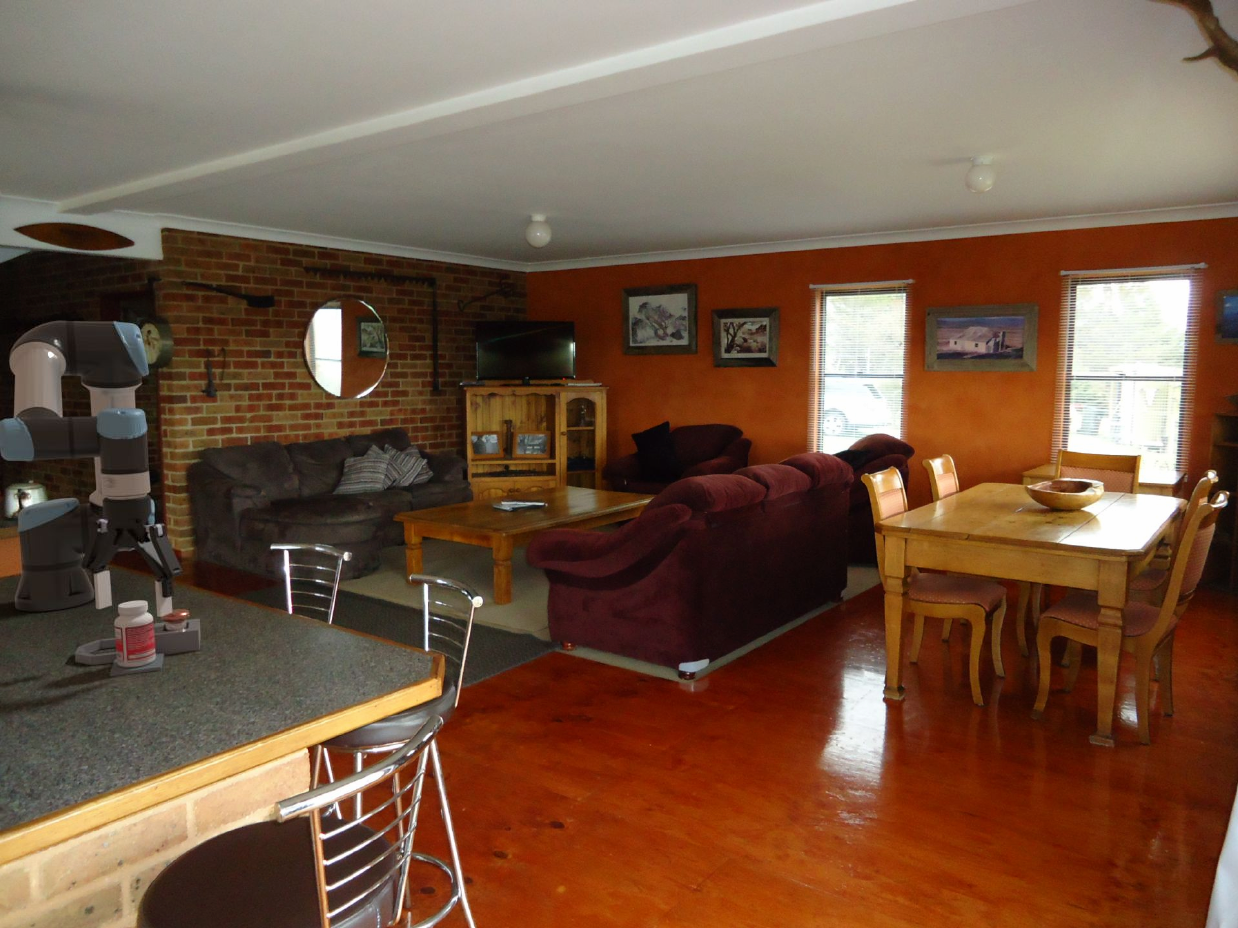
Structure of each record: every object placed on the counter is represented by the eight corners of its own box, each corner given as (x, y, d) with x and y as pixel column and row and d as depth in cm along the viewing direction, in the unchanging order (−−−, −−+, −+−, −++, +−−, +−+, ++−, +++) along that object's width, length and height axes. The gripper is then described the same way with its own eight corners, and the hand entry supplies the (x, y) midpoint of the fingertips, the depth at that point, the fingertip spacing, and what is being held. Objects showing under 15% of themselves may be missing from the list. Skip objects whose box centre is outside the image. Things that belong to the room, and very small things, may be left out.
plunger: (164, 640, 170) (162, 610, 169) (191, 637, 172) (189, 607, 171) (162, 647, 165) (160, 617, 165) (190, 644, 167) (188, 614, 167)
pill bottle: (163, 657, 161) (159, 599, 159) (141, 669, 155) (137, 609, 153) (131, 656, 161) (128, 598, 160) (109, 667, 155) (105, 607, 154)
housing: (81, 649, 167) (80, 629, 166) (200, 636, 175) (199, 616, 174) (72, 667, 157) (71, 646, 157) (199, 652, 166) (198, 631, 165)
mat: (115, 661, 160) (115, 658, 160) (164, 655, 163) (163, 652, 163) (109, 676, 153) (109, 673, 153) (161, 669, 156) (160, 666, 156)
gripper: (52, 494, 154) (61, 609, 157) (167, 503, 147) (174, 624, 150) (88, 487, 161) (96, 598, 164) (200, 496, 154) (206, 611, 157)
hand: (134, 610), depth 157 cm, fingers open, 13 cm apart
